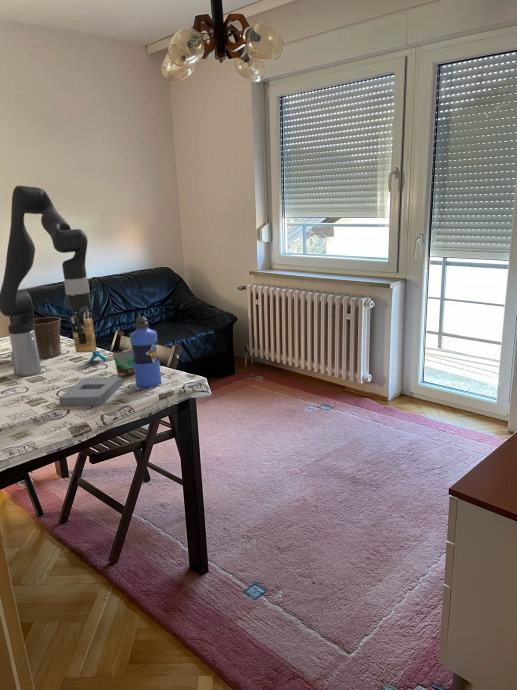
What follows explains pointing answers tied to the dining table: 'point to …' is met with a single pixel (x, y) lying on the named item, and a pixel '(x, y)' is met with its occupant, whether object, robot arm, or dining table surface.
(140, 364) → the water bottle
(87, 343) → the keyed peg
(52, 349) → the plant pot
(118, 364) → the food container
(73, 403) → the keyed plate
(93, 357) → the gear
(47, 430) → the dining table surface
